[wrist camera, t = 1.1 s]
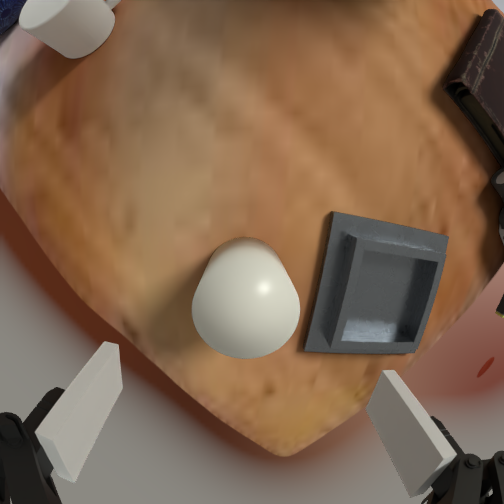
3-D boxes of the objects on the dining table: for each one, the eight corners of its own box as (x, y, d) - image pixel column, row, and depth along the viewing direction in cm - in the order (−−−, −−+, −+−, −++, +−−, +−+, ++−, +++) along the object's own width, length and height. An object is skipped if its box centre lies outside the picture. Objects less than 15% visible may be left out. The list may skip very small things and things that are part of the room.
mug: (12, 11, 13) (98, -59, 12) (54, 39, 23) (124, -17, 22) (26, 42, 15) (125, -38, 14) (73, 70, 25) (151, 9, 24)
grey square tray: (331, 211, 30) (342, 214, 26) (444, 235, 31) (461, 240, 27) (302, 346, 33) (308, 362, 30) (411, 349, 34) (423, 362, 31)
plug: (211, 232, 30) (196, 253, 20) (288, 242, 30) (309, 268, 21) (203, 304, 32) (188, 351, 22) (275, 313, 32) (288, 362, 22)
